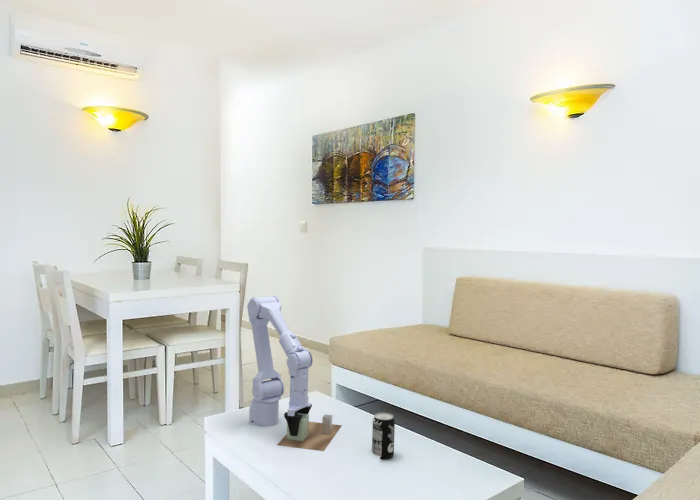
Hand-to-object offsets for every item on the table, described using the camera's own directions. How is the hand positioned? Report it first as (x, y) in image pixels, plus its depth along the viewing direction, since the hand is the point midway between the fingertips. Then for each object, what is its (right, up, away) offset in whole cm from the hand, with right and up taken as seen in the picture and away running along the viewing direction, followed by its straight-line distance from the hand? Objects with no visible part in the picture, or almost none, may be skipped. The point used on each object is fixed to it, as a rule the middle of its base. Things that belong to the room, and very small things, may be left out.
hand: (297, 431), depth 164 cm
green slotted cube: (0, -2, 0) cm, 2 cm away
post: (+9, -2, +4) cm, 10 cm away
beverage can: (+26, -4, -9) cm, 28 cm away
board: (+4, -3, +2) cm, 6 cm away
